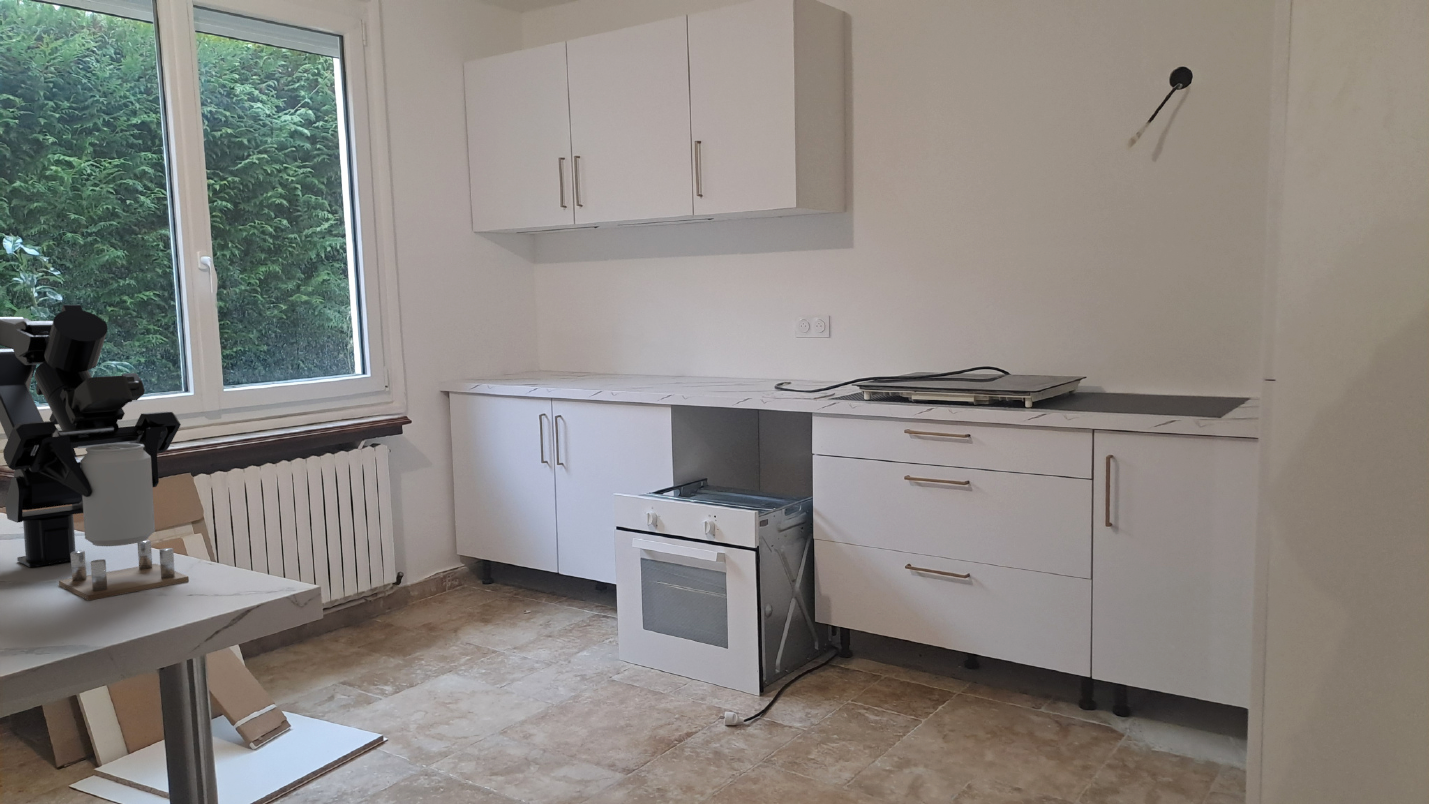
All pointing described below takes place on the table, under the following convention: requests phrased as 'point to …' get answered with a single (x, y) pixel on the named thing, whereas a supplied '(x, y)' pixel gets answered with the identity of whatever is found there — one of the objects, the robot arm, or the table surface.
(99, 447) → the can
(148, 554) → the standoff plate
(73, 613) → the table surface
